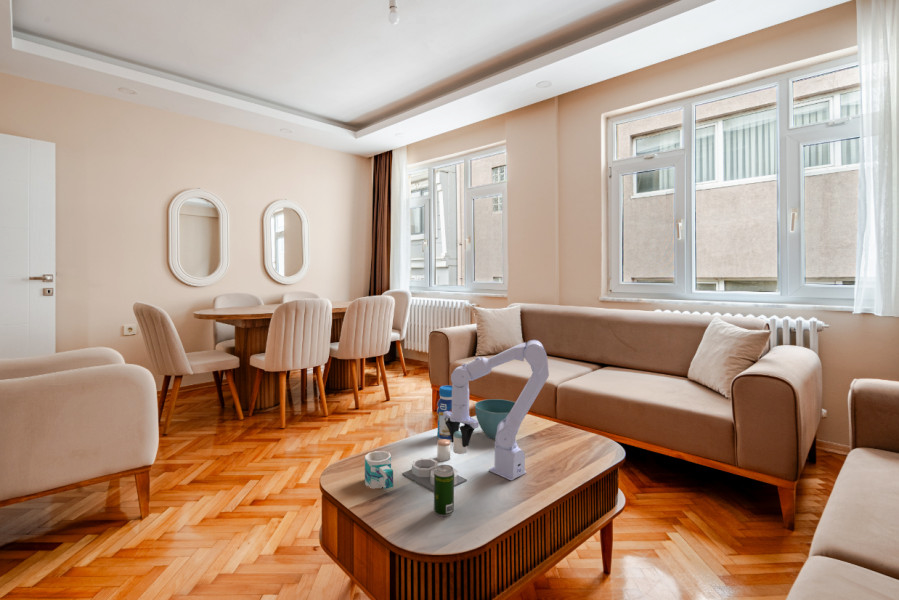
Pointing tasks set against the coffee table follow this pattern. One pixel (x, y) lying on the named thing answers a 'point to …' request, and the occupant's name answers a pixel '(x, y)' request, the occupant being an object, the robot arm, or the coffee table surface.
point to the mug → (378, 470)
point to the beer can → (444, 490)
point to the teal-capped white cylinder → (458, 443)
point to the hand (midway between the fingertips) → (460, 443)
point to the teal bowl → (492, 414)
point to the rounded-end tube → (443, 449)
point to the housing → (428, 473)
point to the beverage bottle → (443, 406)
